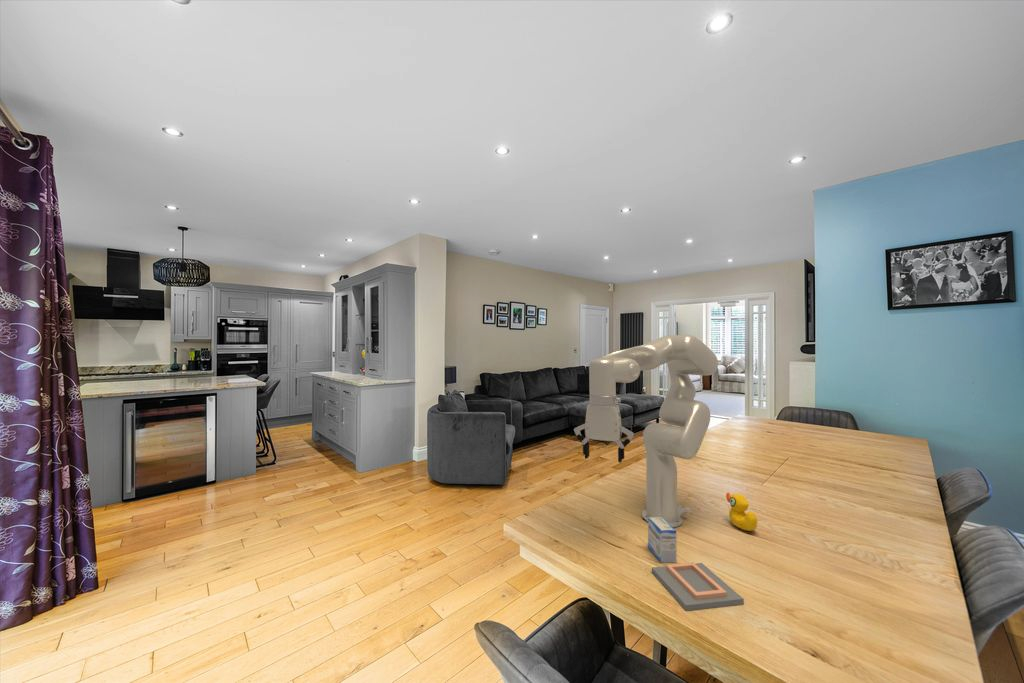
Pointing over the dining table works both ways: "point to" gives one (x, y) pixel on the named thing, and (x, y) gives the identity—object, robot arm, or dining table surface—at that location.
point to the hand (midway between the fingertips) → (603, 459)
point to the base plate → (696, 586)
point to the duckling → (741, 512)
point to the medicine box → (662, 540)
